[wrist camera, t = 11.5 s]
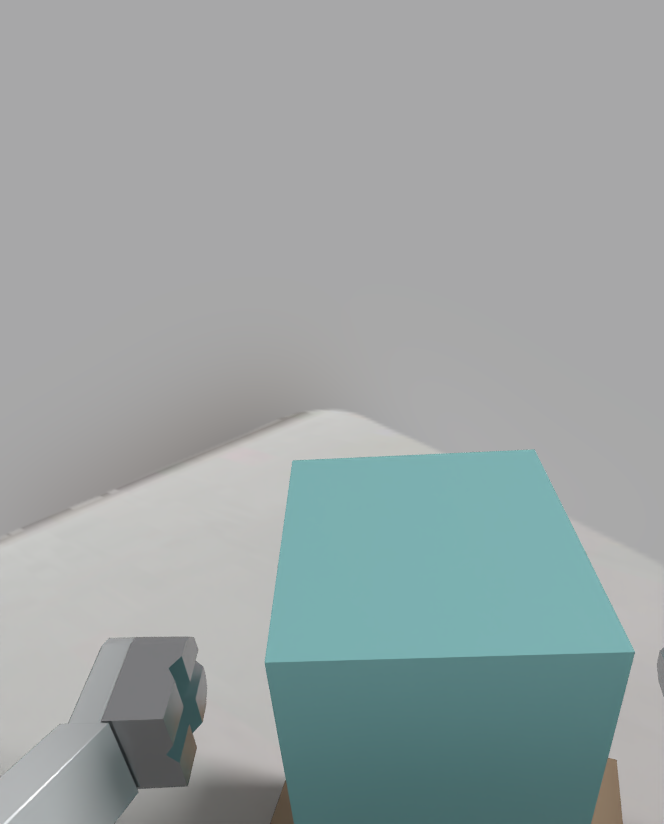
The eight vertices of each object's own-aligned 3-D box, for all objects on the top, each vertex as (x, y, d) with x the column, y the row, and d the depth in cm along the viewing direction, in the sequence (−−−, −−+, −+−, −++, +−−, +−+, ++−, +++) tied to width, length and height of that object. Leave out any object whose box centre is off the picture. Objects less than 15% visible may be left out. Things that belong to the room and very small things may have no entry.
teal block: (328, 1015, 12) (265, 662, 7) (332, 796, 15) (292, 460, 10) (541, 1015, 11) (635, 651, 7) (496, 793, 15) (534, 449, 10)
